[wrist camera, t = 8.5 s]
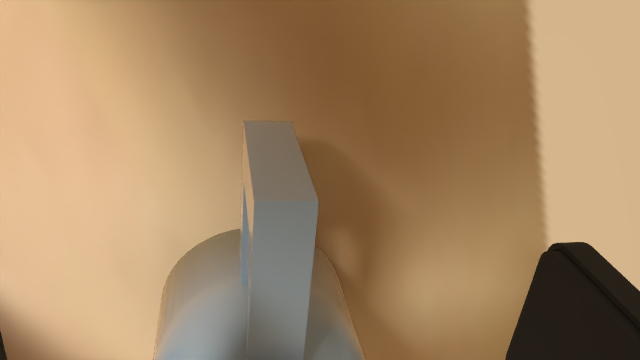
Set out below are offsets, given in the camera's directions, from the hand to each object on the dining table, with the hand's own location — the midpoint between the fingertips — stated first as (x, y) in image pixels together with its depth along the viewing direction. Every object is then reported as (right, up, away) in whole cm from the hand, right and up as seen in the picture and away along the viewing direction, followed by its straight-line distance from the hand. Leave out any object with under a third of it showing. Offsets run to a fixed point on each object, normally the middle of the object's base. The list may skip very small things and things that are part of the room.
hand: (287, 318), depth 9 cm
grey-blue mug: (-2, -1, +14) cm, 14 cm away
